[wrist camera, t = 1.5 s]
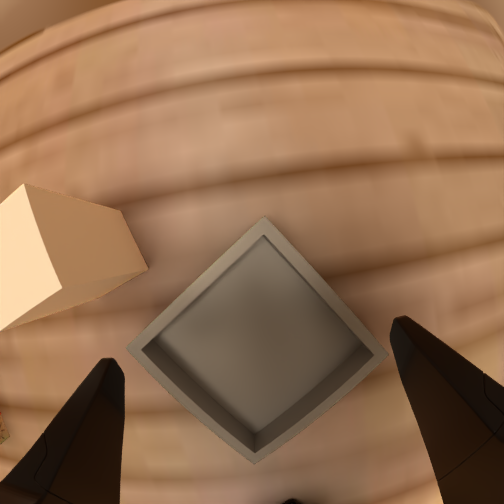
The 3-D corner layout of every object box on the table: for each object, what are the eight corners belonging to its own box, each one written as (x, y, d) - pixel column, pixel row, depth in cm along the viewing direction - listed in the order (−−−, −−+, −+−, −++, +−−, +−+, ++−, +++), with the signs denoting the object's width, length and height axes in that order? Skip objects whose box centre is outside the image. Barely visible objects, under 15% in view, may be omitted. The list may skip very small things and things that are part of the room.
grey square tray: (253, 440, 23) (254, 464, 20) (141, 334, 23) (125, 347, 20) (371, 340, 23) (389, 354, 20) (262, 220, 23) (264, 215, 20)
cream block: (148, 269, 23) (62, 287, 11) (98, 298, 23) (-2, 332, 11) (120, 210, 23) (23, 183, 11) (72, 242, 23) (-35, 239, 11)
